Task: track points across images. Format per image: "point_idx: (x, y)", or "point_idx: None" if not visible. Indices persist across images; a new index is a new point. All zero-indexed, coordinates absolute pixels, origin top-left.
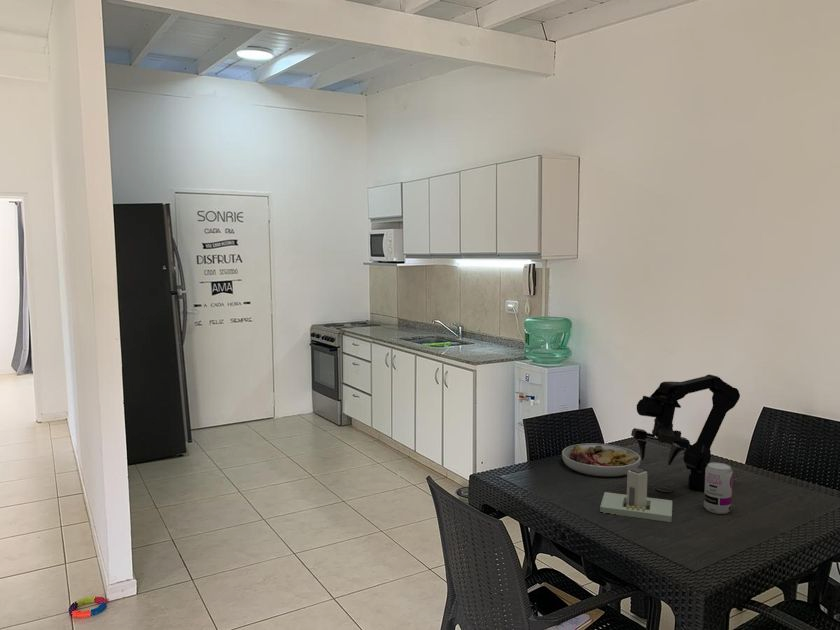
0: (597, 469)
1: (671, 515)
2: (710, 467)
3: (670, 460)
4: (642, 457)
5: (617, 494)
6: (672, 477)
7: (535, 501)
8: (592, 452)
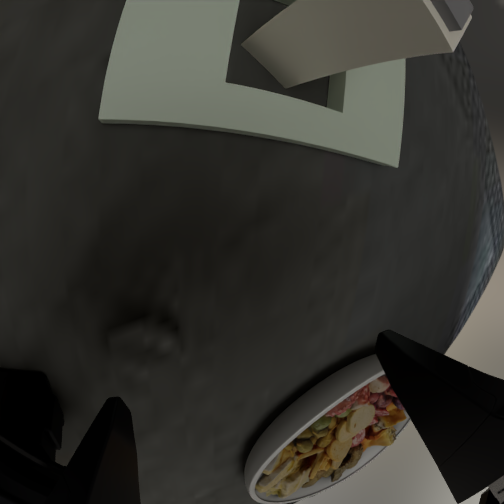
0: None
1: None
2: None
3: (106, 435)
4: (405, 338)
5: (364, 146)
6: None
7: (479, 120)
8: (358, 450)
